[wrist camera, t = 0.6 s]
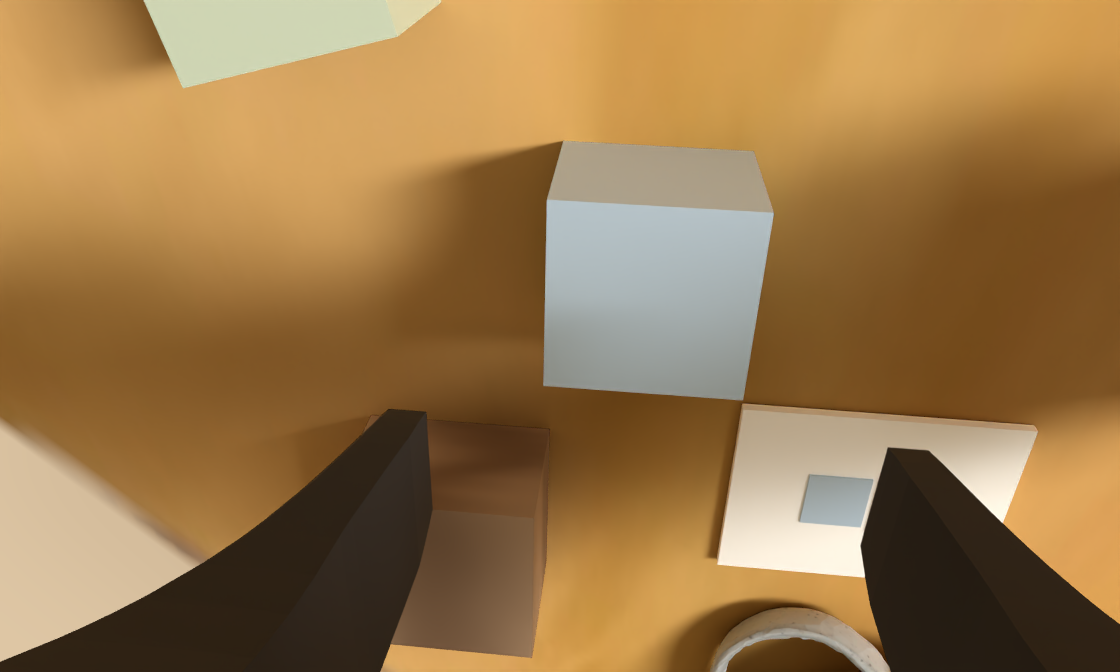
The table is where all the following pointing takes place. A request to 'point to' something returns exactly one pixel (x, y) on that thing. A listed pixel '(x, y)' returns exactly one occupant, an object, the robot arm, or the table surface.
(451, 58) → the table surface
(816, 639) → the ceramic mug
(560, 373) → the blue brick
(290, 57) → the brick
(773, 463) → the page
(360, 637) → the robot arm
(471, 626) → the base brick
